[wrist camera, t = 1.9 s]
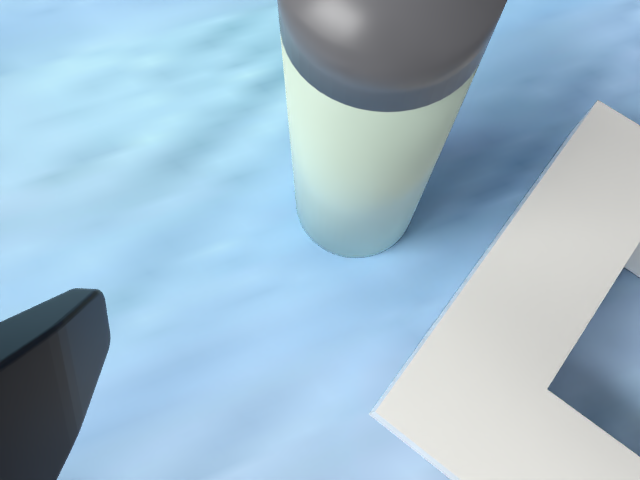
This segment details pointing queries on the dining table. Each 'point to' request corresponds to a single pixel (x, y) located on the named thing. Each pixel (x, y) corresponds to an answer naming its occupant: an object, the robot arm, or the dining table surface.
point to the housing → (529, 325)
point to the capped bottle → (373, 108)
